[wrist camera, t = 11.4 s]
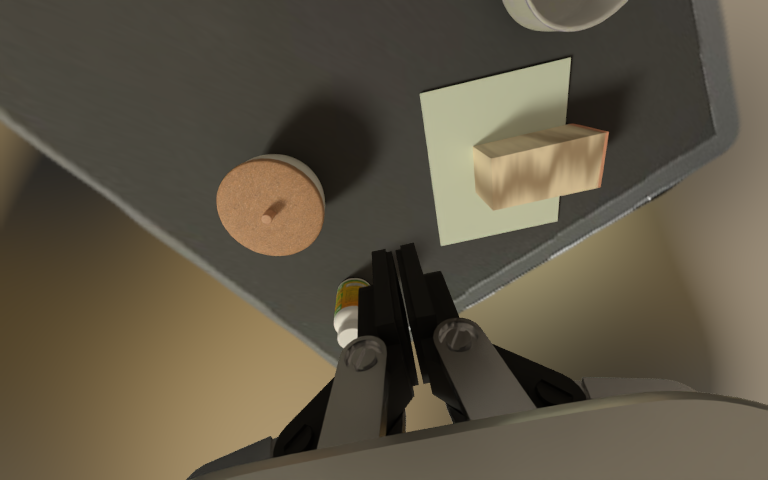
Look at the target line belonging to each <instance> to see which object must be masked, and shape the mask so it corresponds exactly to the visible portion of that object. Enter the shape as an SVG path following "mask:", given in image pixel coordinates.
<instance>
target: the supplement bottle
mask: <svg viewBox="0 0 768 480" xmlns="http://www.w3.org/2000/svg"><path fill="white" fill-rule="evenodd" d="M366 286H370V284H369V283H368V282H366V281H365V280H363V279H360V278H350V279H347V280H345V281H343V282H342V283H341V284H340V286H339V287H338V291H337V298H336V306H335V315H334V327H335V330H336V331H337V332H338V343H339V344H340V346H341V347H343V348H345V346H346V345H347V344H348V343H350V342H351V341H352V340H354V339H356V338H357V332H358V290H359V288H361V287H366Z"/></svg>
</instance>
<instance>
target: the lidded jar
mask: <svg viewBox="0 0 768 480" xmlns="http://www.w3.org/2000/svg"><path fill="white" fill-rule="evenodd" d="M217 210H218V213H219V217H220V219H221V221H222V223H223V225H224V226H225V228H226V230H227V231H228V232H229V233H230V234H231V236H232V237H233V238H235V239H236V240H237V241H238V242H239V243H241V244H242V245H243V246H245V247H247V248H249V249H251V250H253V251H255V252H258V253H261V254H266V255H272V256H284V255H291V254H294V253H297V252H299V251H302V250H304V249H305V248H307V247H308V246H309V245H310V244H312V243H313V242H314V241H315V239H316V238H317V236H318V235H319V233H320V231H321V228H322V225H323V221H324V212H325V196H324V192H323V188H322V186H321V183H320V181H319V179H318V178H317V176H316V175H315V173H314V172H313V171H312V170H311V169H310V168H309V167H308V166H307V165H305V164H304V163H303V162H301V161H299V160H297V159H295V158H293V157H290V156H287V155H281V154H267V155H261V156H258V157H255V158H252V159H250V160H248V161H246V162H244V163H242V164H240V165H238V166H236V167H235V168H234V169H232V170H231V171H230V172H229V173H228V174H227V175H226V176H225V177H224V179H223V180H222V182H221V184H220V186H219V189H218V192H217Z"/></svg>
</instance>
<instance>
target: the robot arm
mask: <svg viewBox="0 0 768 480" xmlns="http://www.w3.org/2000/svg"><path fill="white" fill-rule="evenodd" d="M400 247H401V249H400V250H396V255H397V260H398V266H399V271H400V277H401V282H402V287H403V293H404V298H405V303H406V309H407V314H408V319H409V324H410V328H411V332H412V337H413V341H414V345H415V349H416V354H417V358H418V362H419V366H420V370H421V374H422V379H423V383H424V384H425V383H430V385H431V389H432V394H433V395H435V396H437V397H438V398H440V399H441V400H443V401H444V402H445V403H446V407H447V410H448V412H449V415H450V417H451V420H452V422H453V424H450V425H444V426H439V427H434V428H428V429H423V430H418V431H412V432H407V433H406V412H405V408H406V406H407V405H408V404H409V402H410V400H412V398H413V397H414V391H413V386H415V385H418V378H417V373H416V368H415V362H414V356H413V351H412V345H411V339H410V334H409V328H408V323H407V317H406V312H405V307H404V302H403V298H402V294H401V289H400V285H399V281H398V277H397V273H396V268H395V264H394V260H393V256H392V252H391V251H390V252H386V249H383V250H378V251H373V252H372V266H373V285H370V286H366V287H361V288H359V290H358V332H357V338H356V339H354V340H352V341H351V342H350V343H348V344H347V345H346V346H345V348H344V349H343V350H342V352H341V355H340V357H339V361H338V365H337V369H336V373H335V377H334V378H333V379H332V380H331V381H330V382H329V383H328V384H327V385H326V386H325V387H324V388H323V389H322V390H321V391H320V392H319V393H318V394H317V395H316V396H315V397H314V399H312V400H311V402H309V403H308V405H307V406H306V407H305V408H304V409H303V410H302V411H301V412H300V413H299V414H298V415H297V416H296V417H295V418H294V419H293V420H292V421H291V422H290V423H289V424H288V425H287V426H286V427H285V428H284V430H283V431H282V432H281V433H280V435H279V437H277V438H274V439H272V437H271V436H269V437H267V438H265V439H262V440H261V441H258V442H255V443H254V444H251V445H248V446H246V447H244V448H241V449H239V450H237V451H235V452H233V453H230V454H228V455H226V456H223V457H221V458H219V459H216V460H214V461H211V462H209V463H207V464H205V465H203V466H201V467H200V468H198V469H197V470H195V471H194V472H193V473H192V474H191V475H190V476H189V477H188V478H187V479H186V480H768V405H766V404H763V403H759V402H755V401H751V400H747V399H742V398H738V397H731V396H724V395H718V394H711V393H702V392H697V391H695V390H694V389H692V388H690V387H689V386H687V385H684V384H681V383H679V382H676V381H672V380H665V379H641V378H601V377H599V378H598V377H583V378H582V381H573V380H572V379H570V378H568V377H567V376H565V375H563V374H561V373H559V372H556V371H554V370H552V369H549V368H547V367H544V366H542V365H540V364H538V363H535V362H533V361H531V360H529V359H526V358H524V357H522V356H519V355H517V354H515V353H512V352H510V351H508V350H505V349H503V348H500V347H498V346H496V345H494V344H492V343H491V342H490V340H489V339H488V337H487V336H486V335H485V333H484V332H483V330H482V329H481V328H480V327H479V326H478V325H477V324H476V323H475V322H473V321H471V320H469V319H465V318H459V315H458V313H457V310H456V308H455V305H454V303H453V300H452V298H451V295H450V292H449V290H448V287H447V285H446V282H445V280H444V277H443V275H442V273H441V271H437V272H432V273H427V274H423V272H422V269H421V266H420V262H419V259H418V256H417V252H416V249H415V246H414V243H410V244H406V245H401V246H400Z"/></svg>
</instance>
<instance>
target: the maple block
mask: <svg viewBox="0 0 768 480" xmlns="http://www.w3.org/2000/svg"><path fill="white" fill-rule="evenodd" d="M608 135H609V132H608V131H603V130H599V129H595V128H591V127H586V126H582V125H578V124H574V123H571V124H567V125H563V126H558V127H554V128H550V129H546V130H541V131H537V132H533V133H528V134H524V135H520V136H515V137H511V138H507V139H502V140H498V141H494V142H489V143H485V144H481V145H476V146H473V161H474V176H475V191H476V193H477V194H478V195H479V196H480V198H481V199H482V200H483V201H484V202H485V203H486V204H487V205H488V206H489V207H490V208H491V209H492V210H493V211H494V210H499V209H503V208H508V207H512V206H517V205H522V204H526V203H531V202H535V201H540V200H544V199H549V198H553V197H558V196H563V195H567V194H572V193H576V192H581V191H585V190H590V189H594V188H599V187H601V181H602V174H603V168H604V161H605V154H606V148H607V141H608Z"/></svg>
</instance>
